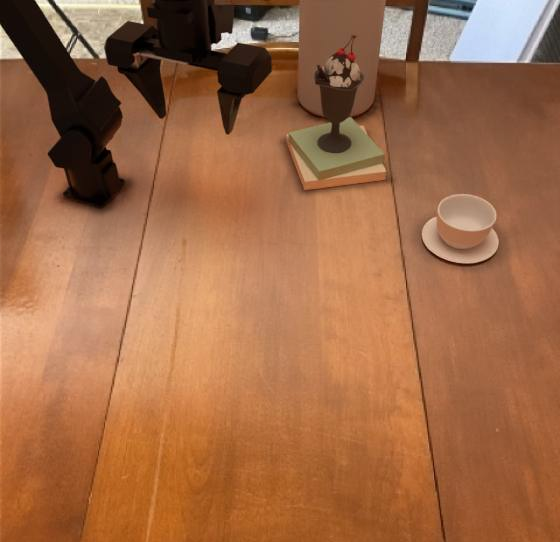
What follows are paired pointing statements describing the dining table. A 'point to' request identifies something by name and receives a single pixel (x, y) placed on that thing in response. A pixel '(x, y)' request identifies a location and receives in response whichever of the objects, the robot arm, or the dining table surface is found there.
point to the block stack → (335, 157)
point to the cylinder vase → (339, 45)
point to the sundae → (337, 96)
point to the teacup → (462, 229)
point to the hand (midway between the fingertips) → (195, 124)
